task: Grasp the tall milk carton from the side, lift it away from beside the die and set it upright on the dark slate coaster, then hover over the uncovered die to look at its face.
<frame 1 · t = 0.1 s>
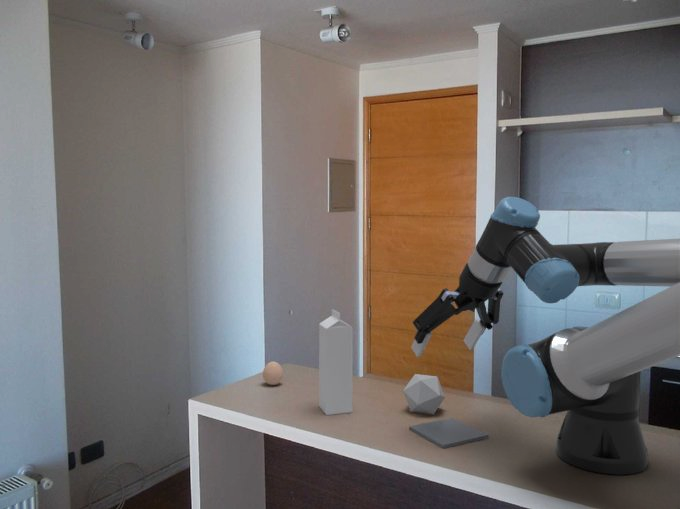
hand: (442, 348, 128), 15 cm above the worktop, tool tilted 35°, fingers open, 13 cm apart
egg: (273, 385, 154), on the worktop
coaster: (448, 433, 121), on the worktop
milk: (335, 410, 135), on the worktop
die: (423, 412, 135), on the worktop
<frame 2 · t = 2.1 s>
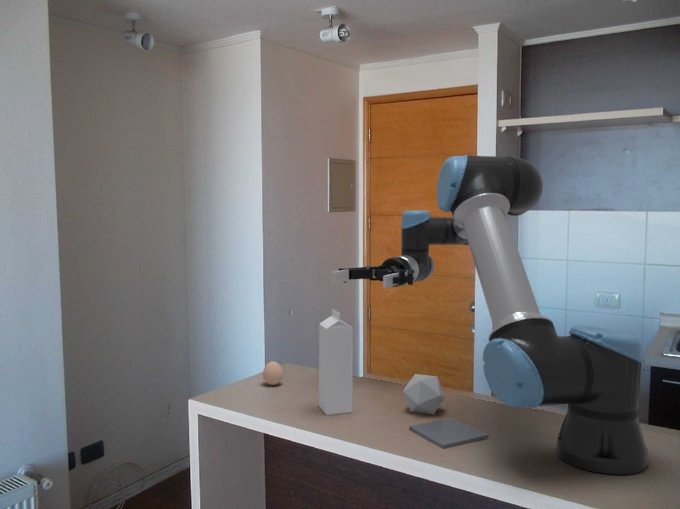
hand: (358, 279, 141), 28 cm above the worktop, tool horizontal, fingers open, 13 cm apart
nothing on the worktop moved.
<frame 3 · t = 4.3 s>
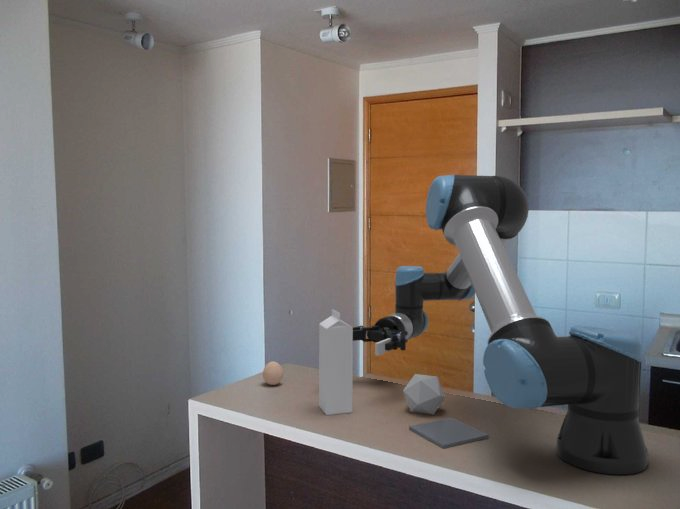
hand: (350, 345, 140), 13 cm above the worktop, tool horizontal, fingers open, 13 cm apart
nothing on the worktop moved.
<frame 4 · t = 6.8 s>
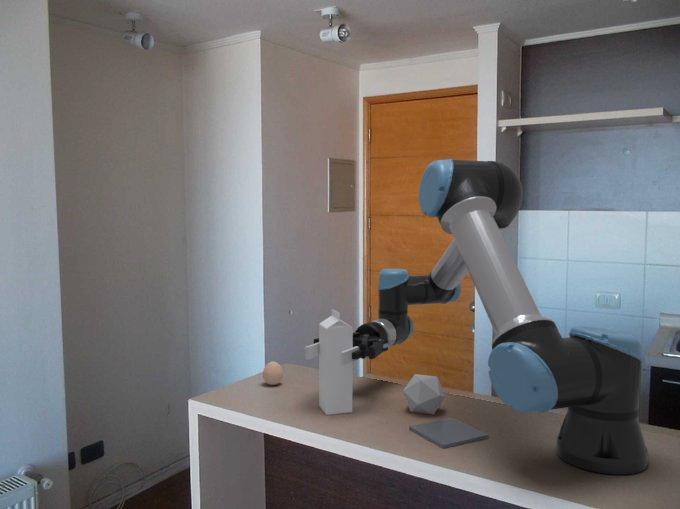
hand: (324, 355, 130), 13 cm above the worktop, tool horizontal, fingers closed on milk, 8 cm apart
milk: (335, 410, 135), on the worktop, touching gripper
everything else where it was.
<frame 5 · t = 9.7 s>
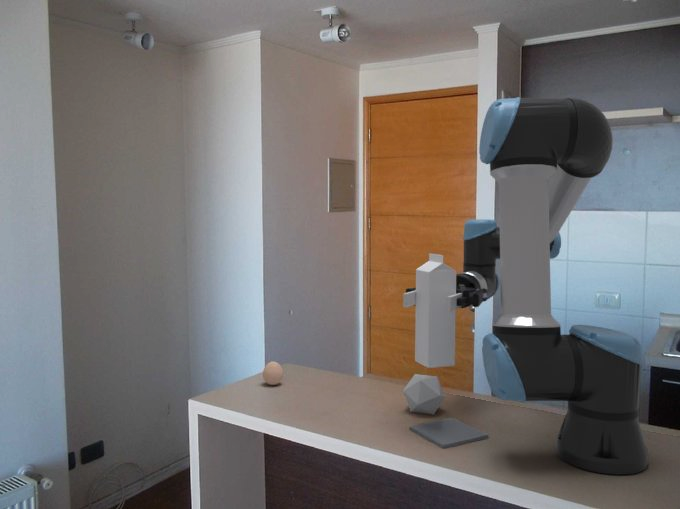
hand: (426, 302, 118), 26 cm above the worktop, tool horizontal, fingers closed on milk, 8 cm apart
milk: (434, 364, 123), point 13 cm above the worktop, touching gripper
everything else where it was.
when the fingers open (14 cm above the worktop, at t = 12.9 s): milk stays where it is, resting on coaster.
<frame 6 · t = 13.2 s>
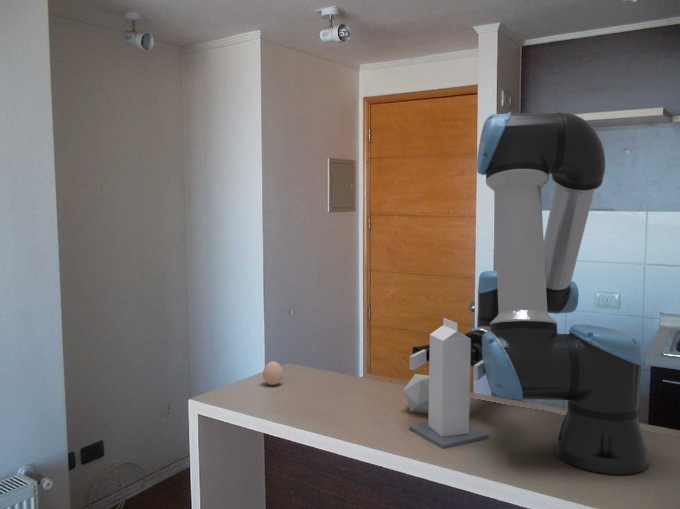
hand: (442, 367, 117), 14 cm above the worktop, tool horizontal, fingers open, 12 cm apart
milk: (448, 431, 121), resting on coaster
everything else where it was.
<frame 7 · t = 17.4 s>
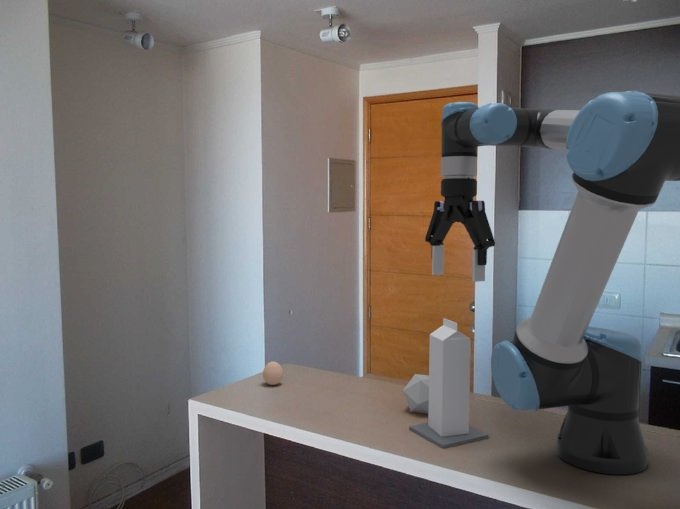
hand: (457, 278, 131), 29 cm above the worktop, tool pointing down, fingers open, 13 cm apart
nothing on the worktop moved.
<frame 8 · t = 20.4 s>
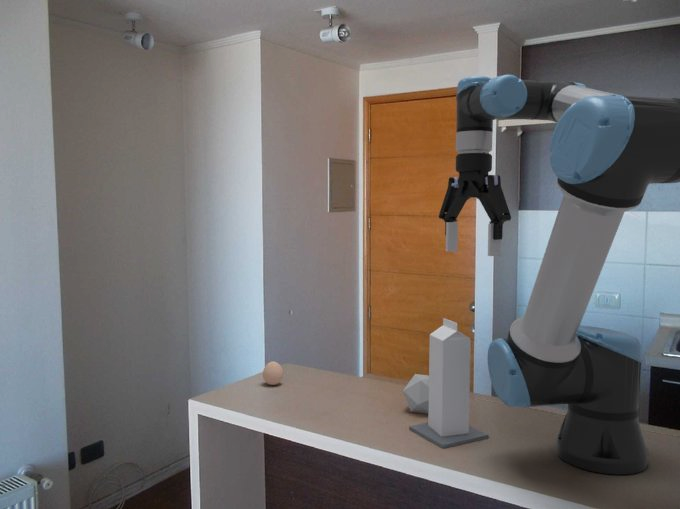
hand: (471, 253, 131), 35 cm above the worktop, tool pointing down, fingers open, 13 cm apart
nothing on the worktop moved.
at the end: milk inside the target area on the coaster (0.1 cm from its centre), point 0.4 cm above the coaster's base; milk tilted 0°; die moved 0.2 cm from its start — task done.
